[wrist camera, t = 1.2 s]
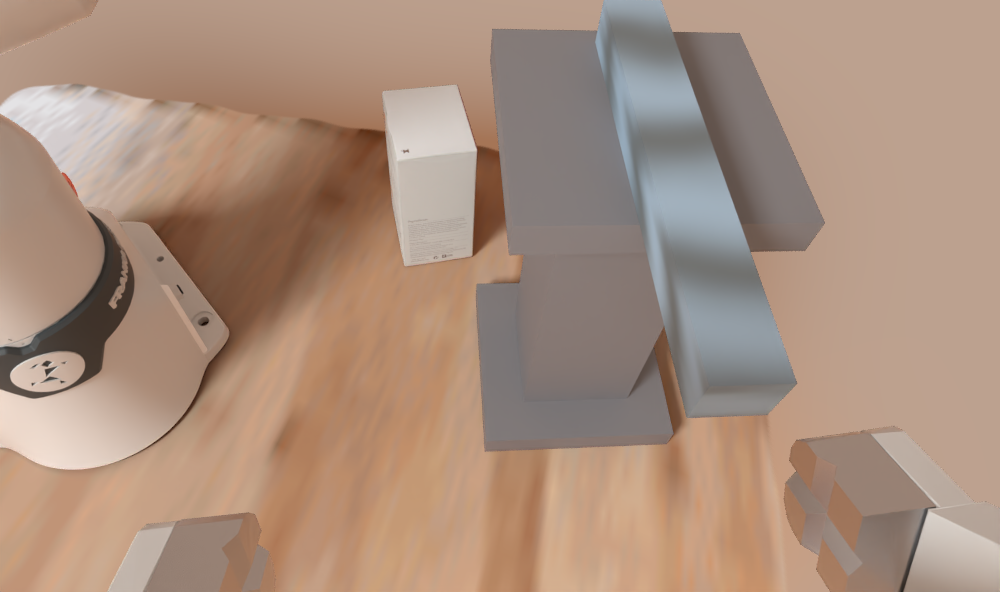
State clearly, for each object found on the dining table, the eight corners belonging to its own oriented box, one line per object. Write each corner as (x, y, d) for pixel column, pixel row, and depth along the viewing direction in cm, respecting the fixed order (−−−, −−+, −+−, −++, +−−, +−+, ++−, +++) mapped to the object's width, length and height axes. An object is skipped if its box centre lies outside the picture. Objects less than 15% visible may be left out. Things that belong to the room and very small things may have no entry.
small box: (474, 258, 60) (479, 151, 49) (404, 268, 59) (394, 161, 48) (456, 192, 64) (458, 81, 53) (391, 201, 63) (379, 89, 52)
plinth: (666, 443, 51) (824, 222, 29) (484, 451, 50) (512, 226, 28) (633, 293, 59) (739, 33, 37) (475, 297, 57) (492, 28, 36)
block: (767, 414, 24) (797, 383, 22) (686, 417, 24) (709, 386, 22) (648, 42, 36) (661, 0, 34) (595, 41, 36) (604, -2, 34)
